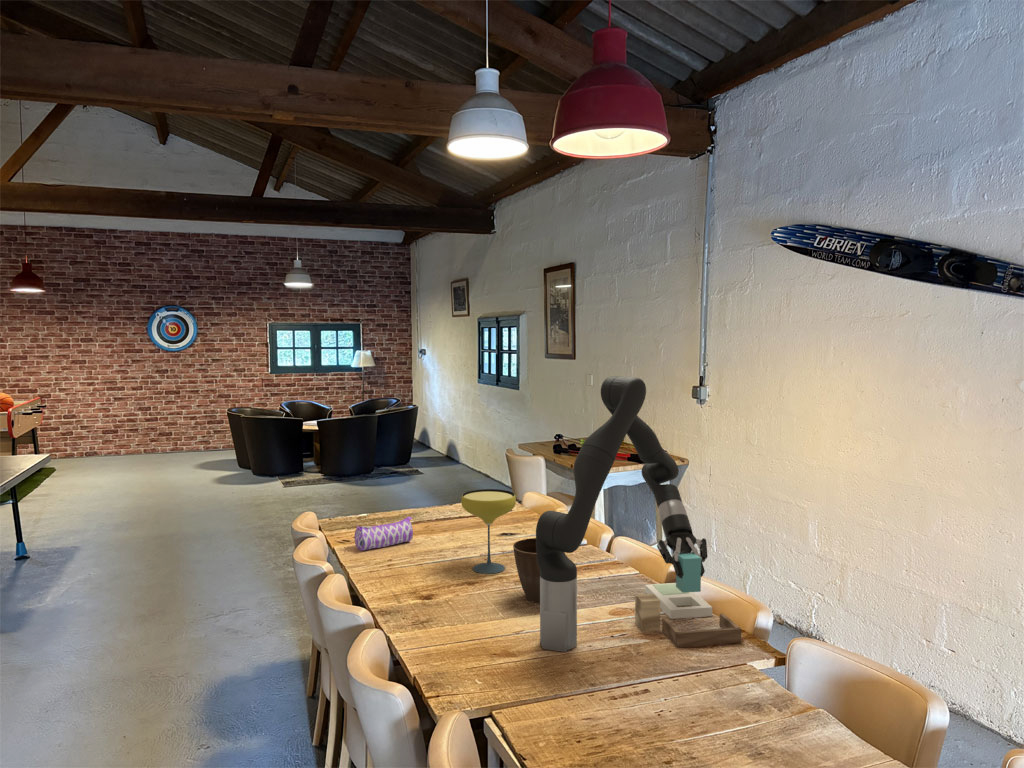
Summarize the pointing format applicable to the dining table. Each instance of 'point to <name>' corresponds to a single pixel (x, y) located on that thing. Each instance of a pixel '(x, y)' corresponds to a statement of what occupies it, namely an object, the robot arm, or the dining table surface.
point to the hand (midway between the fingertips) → (691, 575)
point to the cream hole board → (679, 601)
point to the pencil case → (383, 534)
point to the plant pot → (528, 568)
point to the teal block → (689, 573)
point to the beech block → (647, 612)
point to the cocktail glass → (488, 516)
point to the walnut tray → (703, 634)
